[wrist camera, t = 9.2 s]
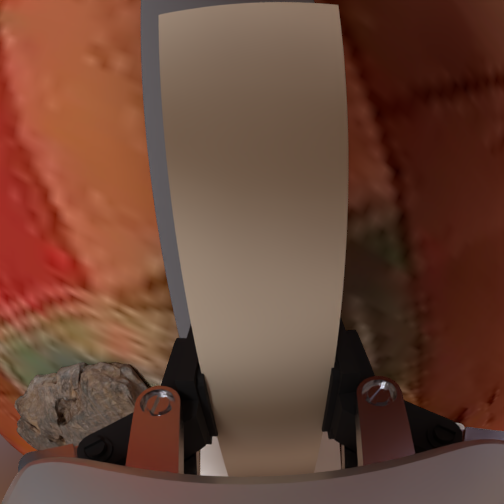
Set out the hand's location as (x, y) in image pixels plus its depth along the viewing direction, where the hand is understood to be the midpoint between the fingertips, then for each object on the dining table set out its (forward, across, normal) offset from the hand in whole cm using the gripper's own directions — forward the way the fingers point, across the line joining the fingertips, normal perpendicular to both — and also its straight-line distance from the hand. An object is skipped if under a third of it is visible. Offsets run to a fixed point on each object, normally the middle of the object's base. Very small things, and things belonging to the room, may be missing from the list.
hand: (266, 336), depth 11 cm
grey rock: (+6, +17, +15) cm, 23 cm away
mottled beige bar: (+2, 0, 0) cm, 2 cm away
